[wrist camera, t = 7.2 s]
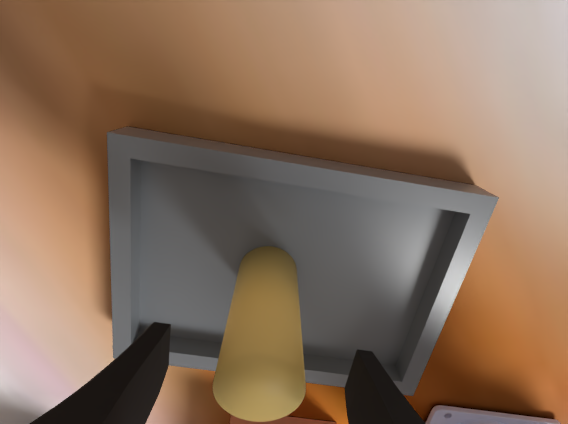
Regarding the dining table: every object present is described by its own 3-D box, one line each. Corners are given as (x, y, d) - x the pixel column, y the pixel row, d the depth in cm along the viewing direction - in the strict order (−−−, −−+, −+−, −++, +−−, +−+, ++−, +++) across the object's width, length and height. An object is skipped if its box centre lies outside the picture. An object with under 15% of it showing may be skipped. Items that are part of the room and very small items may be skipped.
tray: (475, 185, 17) (498, 197, 15) (402, 369, 22) (412, 396, 20) (127, 126, 16) (106, 132, 14) (128, 333, 21) (113, 358, 19)
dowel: (301, 250, 18) (314, 360, 11) (291, 299, 19) (296, 426, 12) (242, 242, 18) (217, 347, 11) (235, 291, 19) (208, 416, 12)
